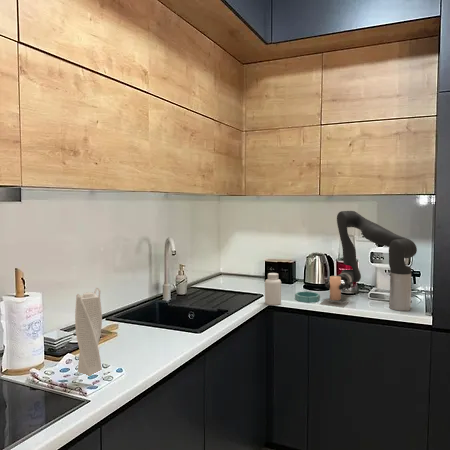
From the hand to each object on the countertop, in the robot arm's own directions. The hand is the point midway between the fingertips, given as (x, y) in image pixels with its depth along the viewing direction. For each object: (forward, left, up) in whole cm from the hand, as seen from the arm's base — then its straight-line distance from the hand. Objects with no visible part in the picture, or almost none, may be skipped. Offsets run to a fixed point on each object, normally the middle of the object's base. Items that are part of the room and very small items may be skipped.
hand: (333, 287), depth 212 cm
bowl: (+14, -3, -9) cm, 17 cm away
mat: (0, -3, -9) cm, 10 cm away
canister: (0, -3, -6) cm, 7 cm away
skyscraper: (+39, +119, -10) cm, 126 cm away
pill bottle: (+27, +11, -9) cm, 31 cm away
